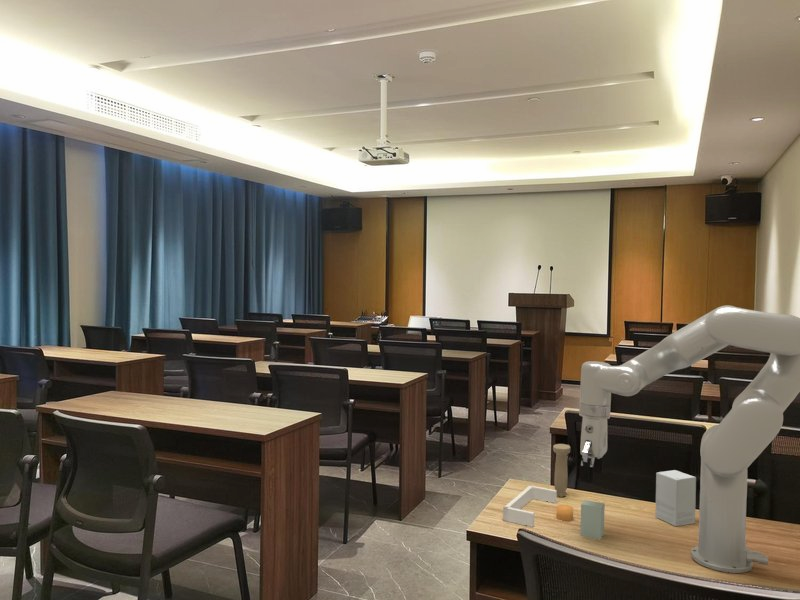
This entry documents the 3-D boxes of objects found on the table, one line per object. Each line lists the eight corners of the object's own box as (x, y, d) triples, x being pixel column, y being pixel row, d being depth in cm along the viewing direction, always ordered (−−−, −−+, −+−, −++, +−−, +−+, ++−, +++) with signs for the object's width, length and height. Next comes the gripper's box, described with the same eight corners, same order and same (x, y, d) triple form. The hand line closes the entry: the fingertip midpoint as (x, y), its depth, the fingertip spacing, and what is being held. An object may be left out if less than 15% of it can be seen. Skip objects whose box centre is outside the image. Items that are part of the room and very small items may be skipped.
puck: (574, 517, 165) (575, 506, 165) (570, 522, 161) (570, 511, 161) (558, 514, 167) (559, 503, 167) (554, 519, 163) (554, 508, 163)
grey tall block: (603, 534, 153) (604, 503, 153) (600, 539, 150) (601, 508, 150) (583, 530, 156) (584, 499, 156) (580, 535, 152) (580, 504, 152)
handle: (570, 494, 184) (572, 445, 184) (566, 500, 178) (567, 450, 178) (555, 491, 186) (556, 443, 186) (549, 497, 180) (551, 447, 180)
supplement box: (696, 523, 162) (697, 477, 162) (675, 527, 159) (676, 479, 159) (674, 513, 169) (675, 469, 169) (654, 517, 166) (655, 471, 166)
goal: (556, 502, 176) (556, 490, 176) (532, 527, 157) (533, 513, 157) (529, 496, 180) (529, 485, 180) (503, 520, 161) (503, 507, 161)
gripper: (602, 418, 143) (599, 489, 144) (616, 407, 158) (613, 471, 159) (571, 413, 147) (567, 483, 147) (587, 403, 162) (584, 466, 162)
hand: (591, 477), depth 153 cm, fingers open, 9 cm apart
